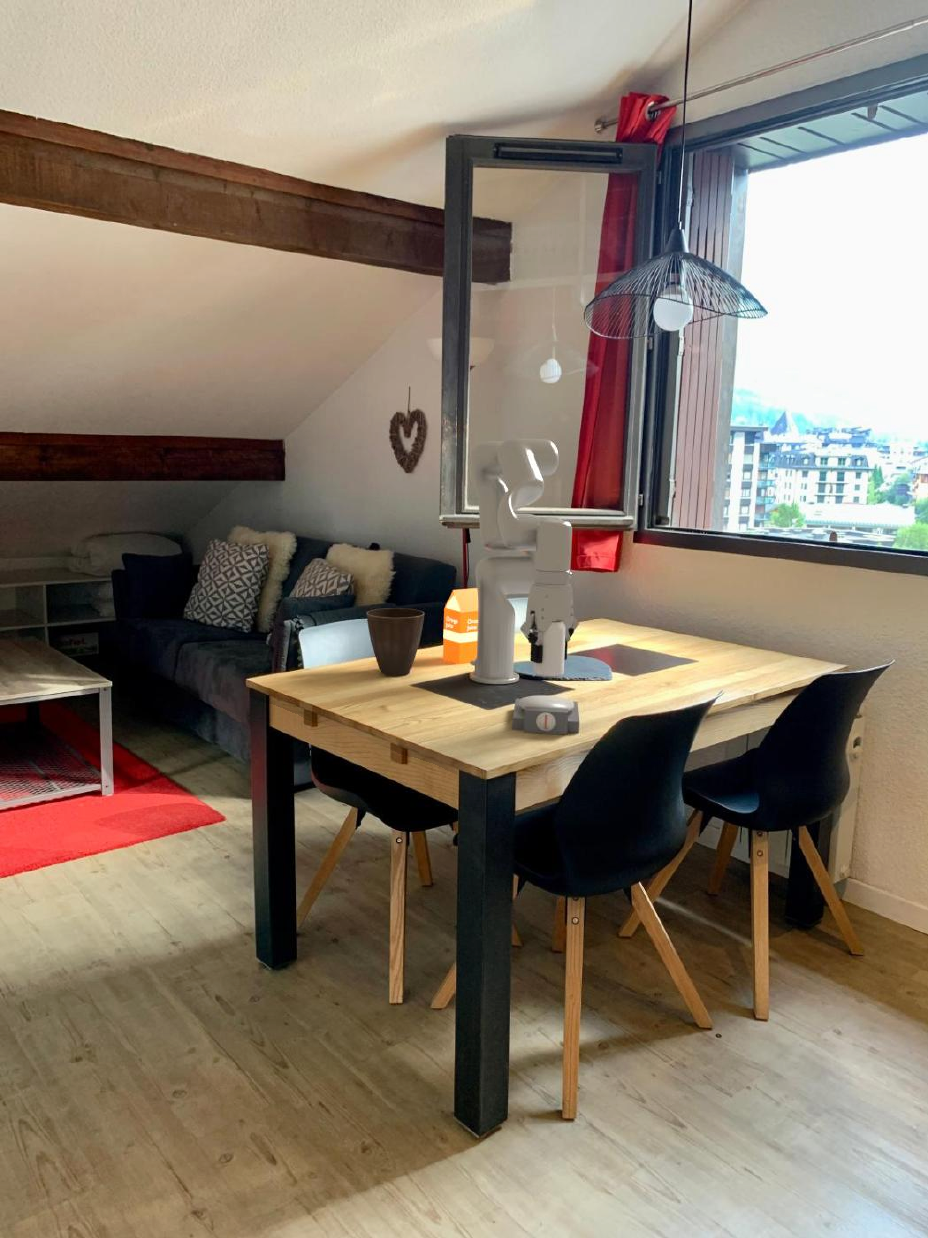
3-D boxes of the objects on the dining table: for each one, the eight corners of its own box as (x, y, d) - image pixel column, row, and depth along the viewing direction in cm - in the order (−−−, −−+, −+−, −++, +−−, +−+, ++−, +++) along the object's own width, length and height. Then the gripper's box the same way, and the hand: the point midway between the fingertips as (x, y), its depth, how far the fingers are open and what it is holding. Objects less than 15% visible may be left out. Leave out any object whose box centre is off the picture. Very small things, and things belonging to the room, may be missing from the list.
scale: (515, 708, 217) (516, 688, 216) (576, 712, 215) (578, 691, 214) (511, 732, 198) (512, 710, 198) (579, 736, 197) (580, 713, 196)
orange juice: (442, 659, 265) (444, 588, 262) (467, 655, 271) (469, 586, 267) (459, 664, 259) (461, 592, 256) (484, 660, 264) (486, 589, 261)
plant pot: (362, 678, 240) (362, 616, 237) (369, 665, 255) (370, 606, 252) (420, 681, 240) (422, 618, 237) (425, 667, 254) (426, 608, 252)
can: (561, 670, 209) (563, 617, 207) (565, 677, 203) (567, 622, 201) (532, 670, 209) (534, 616, 207) (535, 677, 203) (537, 621, 201)
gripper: (570, 574, 211) (567, 653, 214) (509, 578, 201) (506, 661, 204) (594, 578, 205) (590, 659, 208) (532, 582, 195) (528, 668, 198)
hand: (548, 659), depth 206 cm, fingers closed on can, 6 cm apart
